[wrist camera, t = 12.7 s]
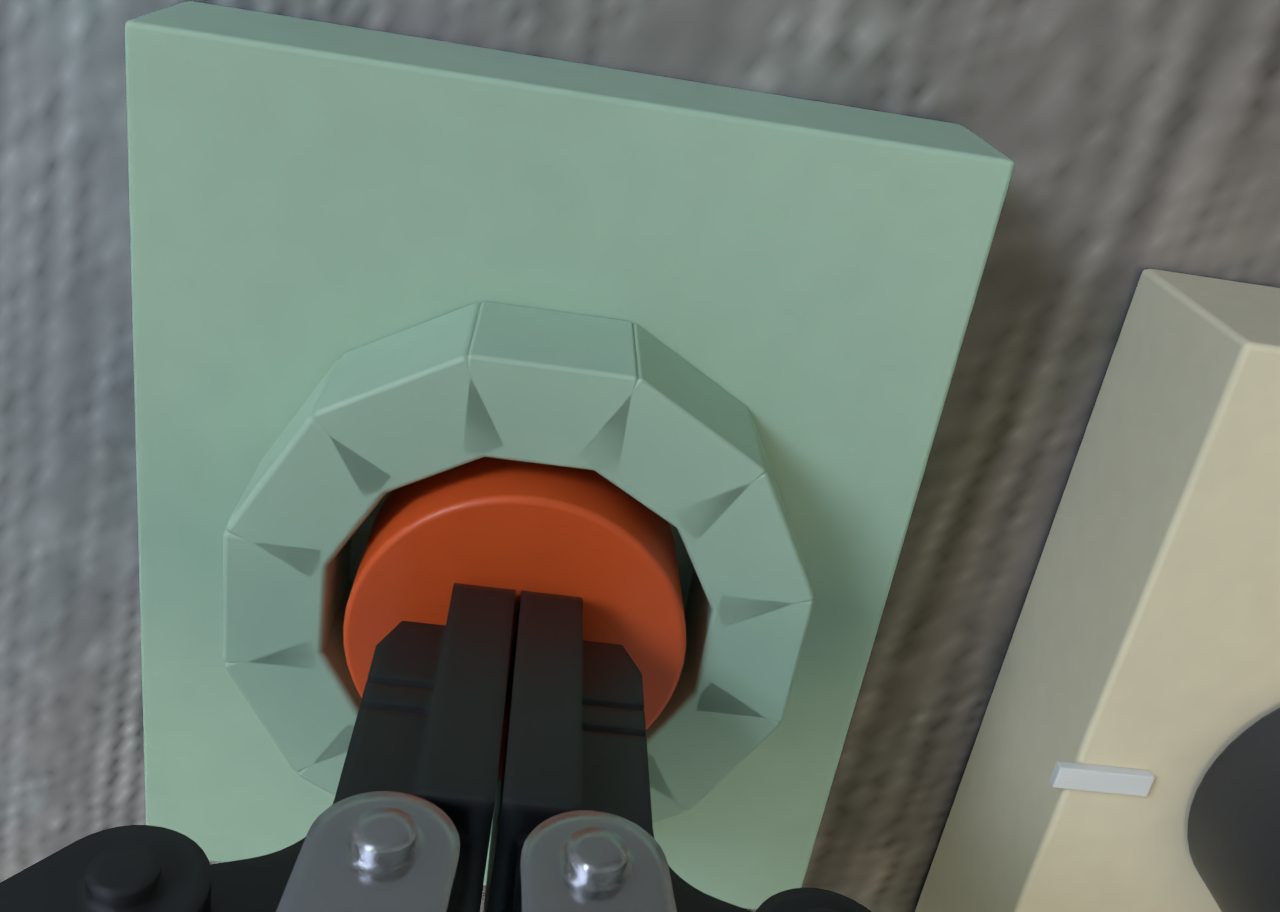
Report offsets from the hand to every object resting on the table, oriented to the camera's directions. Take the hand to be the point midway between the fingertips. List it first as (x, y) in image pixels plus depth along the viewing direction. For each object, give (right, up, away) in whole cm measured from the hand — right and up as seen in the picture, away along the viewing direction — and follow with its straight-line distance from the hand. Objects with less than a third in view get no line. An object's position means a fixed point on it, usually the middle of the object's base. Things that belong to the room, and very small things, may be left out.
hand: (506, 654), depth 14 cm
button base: (0, +2, +4) cm, 4 cm away
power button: (0, +1, +2) cm, 2 cm away
